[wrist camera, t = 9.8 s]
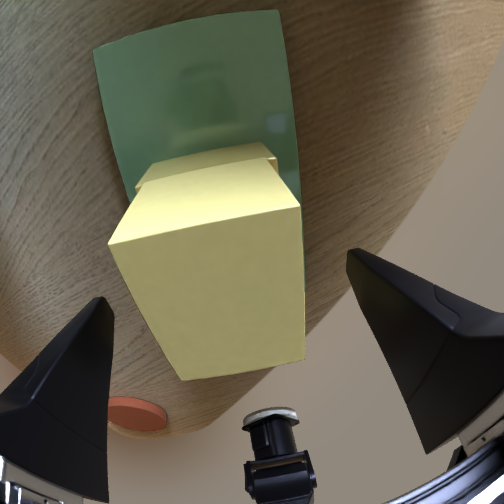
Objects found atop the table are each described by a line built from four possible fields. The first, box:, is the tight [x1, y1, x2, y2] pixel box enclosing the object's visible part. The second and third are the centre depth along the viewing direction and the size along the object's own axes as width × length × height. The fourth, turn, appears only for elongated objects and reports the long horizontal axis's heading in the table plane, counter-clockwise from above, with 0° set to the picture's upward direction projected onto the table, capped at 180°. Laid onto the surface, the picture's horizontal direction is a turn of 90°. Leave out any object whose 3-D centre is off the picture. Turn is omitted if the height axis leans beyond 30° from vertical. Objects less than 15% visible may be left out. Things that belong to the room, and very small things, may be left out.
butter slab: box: [108, 157, 305, 381], centre depth 10 cm, size 6×5×4 cm
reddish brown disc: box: [108, 397, 167, 431], centre depth 27 cm, size 8×8×1 cm
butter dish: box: [93, 9, 306, 292], centre depth 13 cm, size 17×9×4 cm, turn 8°
